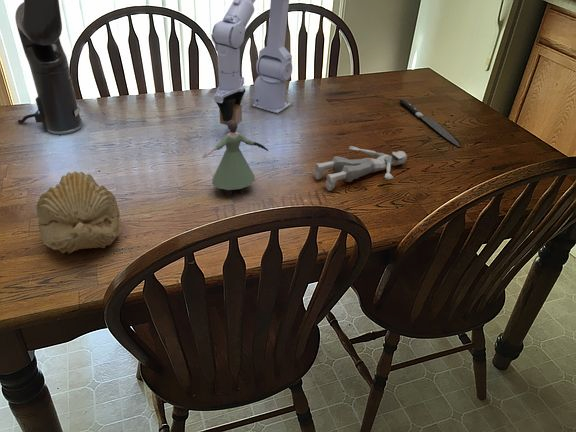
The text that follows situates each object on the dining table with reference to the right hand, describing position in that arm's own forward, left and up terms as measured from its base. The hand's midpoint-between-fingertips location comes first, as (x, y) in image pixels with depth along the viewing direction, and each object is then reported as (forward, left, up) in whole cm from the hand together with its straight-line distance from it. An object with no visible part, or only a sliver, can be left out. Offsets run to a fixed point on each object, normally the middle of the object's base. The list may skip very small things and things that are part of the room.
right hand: (230, 117), depth 139 cm
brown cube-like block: (0, 0, -1) cm, 1 cm away
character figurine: (+19, -23, -5) cm, 30 cm away
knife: (+45, +40, -5) cm, 60 cm away
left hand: (-54, +8, +34) cm, 64 cm away
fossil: (+5, -56, -5) cm, 56 cm away
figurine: (+41, +1, -5) cm, 41 cm away
